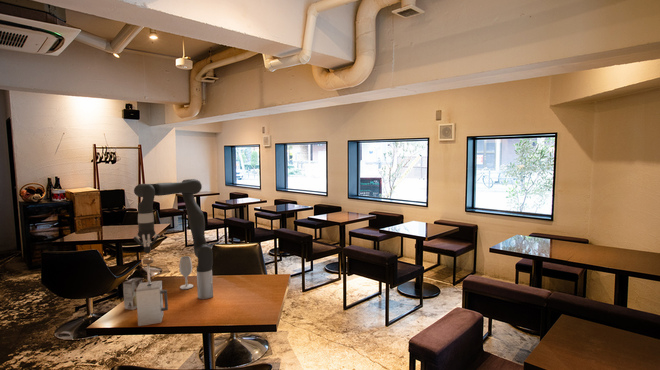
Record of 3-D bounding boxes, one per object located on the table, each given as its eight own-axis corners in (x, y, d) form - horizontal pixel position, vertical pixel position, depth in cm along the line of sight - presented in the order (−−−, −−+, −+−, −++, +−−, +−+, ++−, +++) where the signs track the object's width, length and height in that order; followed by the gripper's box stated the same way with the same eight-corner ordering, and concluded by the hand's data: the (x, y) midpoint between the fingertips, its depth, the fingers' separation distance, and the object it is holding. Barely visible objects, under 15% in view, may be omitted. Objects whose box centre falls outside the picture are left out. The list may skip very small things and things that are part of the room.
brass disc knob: (159, 292, 197) (157, 256, 196) (157, 297, 189) (155, 260, 188) (142, 294, 194) (140, 257, 193) (139, 299, 186) (137, 262, 185)
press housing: (169, 313, 201) (167, 279, 199) (167, 321, 190) (165, 286, 189) (141, 317, 196) (139, 283, 195) (138, 326, 186) (136, 290, 184)
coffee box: (135, 302, 216) (134, 277, 215) (144, 303, 215) (143, 277, 214) (124, 309, 207) (122, 282, 206) (133, 309, 206) (131, 283, 205)
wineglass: (180, 290, 235) (178, 259, 234) (179, 286, 243) (177, 256, 242) (194, 288, 239) (192, 257, 238) (192, 284, 247) (191, 254, 246)
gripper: (160, 219, 195) (161, 250, 196) (133, 221, 190) (135, 252, 192) (158, 221, 188) (160, 253, 189) (130, 223, 183) (132, 256, 184)
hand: (147, 253), depth 190 cm, fingers closed
